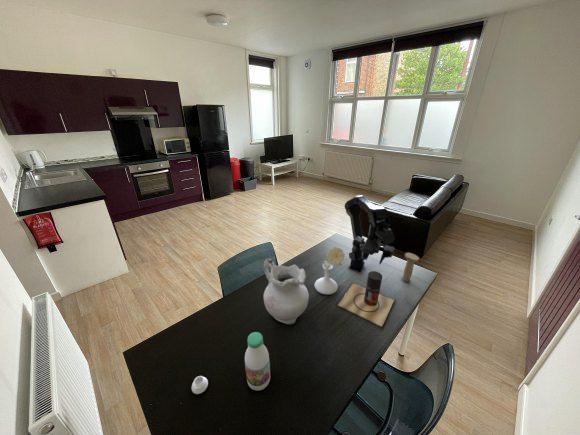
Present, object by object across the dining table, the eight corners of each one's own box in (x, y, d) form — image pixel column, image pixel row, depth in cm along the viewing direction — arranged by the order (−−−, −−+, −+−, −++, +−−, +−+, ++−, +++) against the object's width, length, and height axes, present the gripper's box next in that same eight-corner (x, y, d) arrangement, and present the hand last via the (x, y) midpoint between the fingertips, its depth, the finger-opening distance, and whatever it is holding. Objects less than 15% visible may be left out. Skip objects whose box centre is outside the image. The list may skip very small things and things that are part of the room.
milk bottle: (248, 368, 83) (243, 328, 74) (270, 366, 84) (267, 326, 75) (246, 392, 76) (240, 351, 67) (270, 390, 77) (267, 348, 68)
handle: (403, 275, 128) (409, 251, 122) (414, 282, 123) (421, 258, 117) (397, 278, 126) (403, 254, 119) (408, 285, 121) (414, 260, 114)
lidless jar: (205, 394, 76) (209, 378, 80) (204, 388, 74) (208, 372, 79) (189, 395, 75) (194, 378, 80) (188, 389, 74) (193, 373, 79)
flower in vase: (311, 293, 116) (313, 249, 105) (318, 278, 126) (320, 237, 115) (338, 300, 112) (343, 256, 101) (342, 285, 121) (347, 243, 111)
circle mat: (337, 305, 109) (337, 304, 109) (353, 284, 122) (353, 283, 122) (382, 327, 98) (382, 326, 98) (393, 301, 111) (394, 300, 111)
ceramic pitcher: (252, 319, 103) (245, 276, 91) (273, 288, 119) (270, 248, 106) (297, 338, 95) (296, 293, 83) (314, 302, 110) (315, 260, 98)
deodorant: (377, 298, 112) (382, 272, 106) (377, 307, 107) (382, 281, 101) (364, 295, 114) (368, 270, 107) (363, 304, 109) (368, 278, 102)
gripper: (349, 234, 110) (346, 262, 117) (391, 247, 100) (384, 276, 107) (358, 225, 119) (355, 252, 125) (397, 236, 109) (391, 264, 115)
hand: (370, 260), depth 118 cm, fingers open, 9 cm apart
